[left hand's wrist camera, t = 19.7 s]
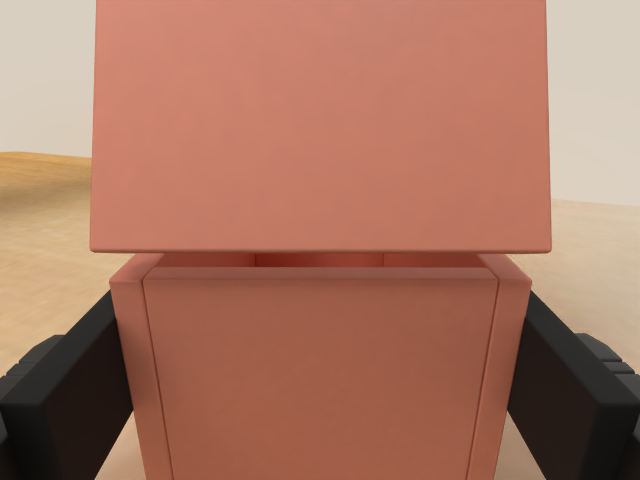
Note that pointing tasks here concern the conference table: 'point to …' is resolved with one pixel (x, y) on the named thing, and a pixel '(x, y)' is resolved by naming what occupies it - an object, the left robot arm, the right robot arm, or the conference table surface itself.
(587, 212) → the conference table surface
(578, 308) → the conference table surface
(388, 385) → the chest
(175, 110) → the lid
